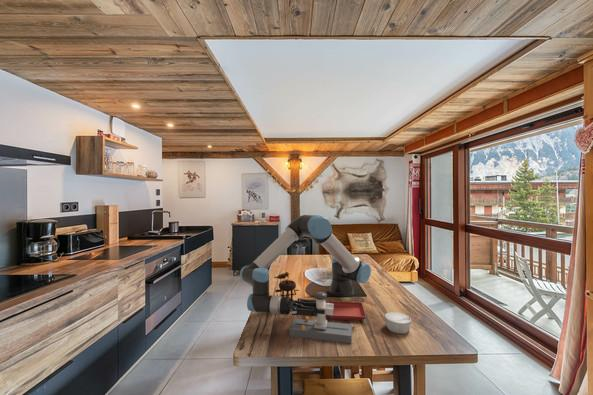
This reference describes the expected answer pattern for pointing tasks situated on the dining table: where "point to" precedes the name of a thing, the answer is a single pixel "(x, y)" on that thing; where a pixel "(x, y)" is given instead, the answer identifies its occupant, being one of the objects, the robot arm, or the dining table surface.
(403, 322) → the ramekin
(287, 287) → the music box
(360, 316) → the plant saucer
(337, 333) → the fader console
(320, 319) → the handle
